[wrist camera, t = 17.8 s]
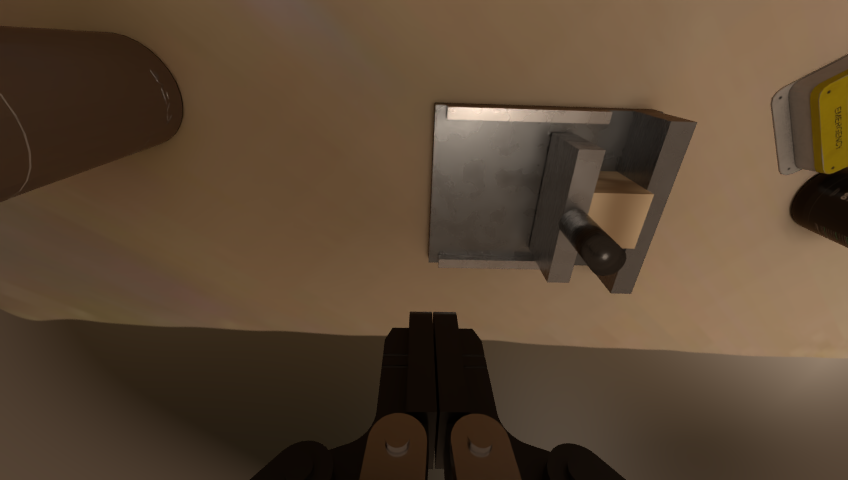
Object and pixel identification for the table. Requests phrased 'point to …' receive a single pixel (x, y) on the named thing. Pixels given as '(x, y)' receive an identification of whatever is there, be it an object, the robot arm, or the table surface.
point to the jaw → (571, 213)
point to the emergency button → (813, 121)
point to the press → (537, 177)
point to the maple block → (620, 207)
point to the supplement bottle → (824, 206)
